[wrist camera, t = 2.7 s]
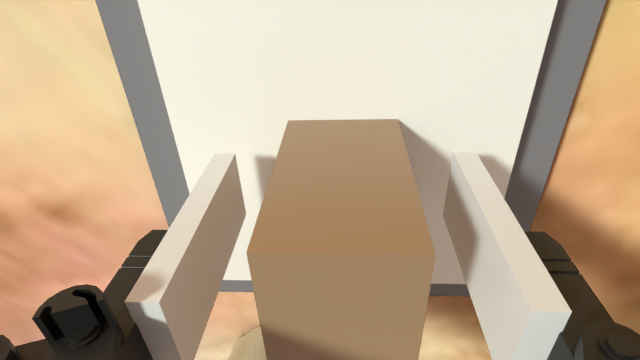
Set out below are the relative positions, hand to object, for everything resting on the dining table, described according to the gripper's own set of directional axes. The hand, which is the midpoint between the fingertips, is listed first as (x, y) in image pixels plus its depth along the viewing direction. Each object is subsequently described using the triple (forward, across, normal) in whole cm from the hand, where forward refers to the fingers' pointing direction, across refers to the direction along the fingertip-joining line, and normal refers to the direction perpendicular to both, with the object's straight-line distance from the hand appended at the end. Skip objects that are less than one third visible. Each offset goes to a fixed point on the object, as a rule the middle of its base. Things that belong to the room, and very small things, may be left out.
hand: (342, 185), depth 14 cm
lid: (+2, 0, 0) cm, 2 cm away
